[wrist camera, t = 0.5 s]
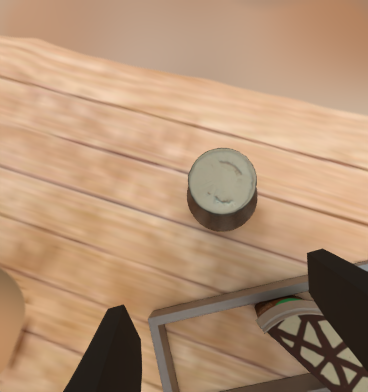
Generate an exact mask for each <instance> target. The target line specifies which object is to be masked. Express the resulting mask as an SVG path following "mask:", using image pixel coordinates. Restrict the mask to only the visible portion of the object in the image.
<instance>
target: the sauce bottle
mask: <svg viewBox="0 0 368 392" xmlns="http://www.w3.org/2000/svg"><path fill="white" fill-rule="evenodd" d="M256 184H257V176H256V173H255V169H254V167H253V165H252V163H251V162H250V161H249V159H248V158H247V157H246V156H244V155H243V154H241V153H240V152H238V151H236V150H233V149H229V148H217V149H213V150H209V151H207V152H205V153H204V154H202V155H201V156H200V157H199V158H198V159H197V160H196V161H195V163H194V164H193V166H192V168H191V170H190V172H189V175H188V190H187V202H188V206H189V209H190V211H191V213H192V214H193V216H194V217H195V219H196V220H197V221H198V222H199V223H200V224H202V225H203V226H204V227H206V228H208V229H211V230H213V231H219V232H224V231H231V230H234V229H236V228H238V227H240V226H242V225H243V224H244V223H245V222H246V221H247V220H248V219H249V218H250V217H251V216H252V214H253V213H254V211H255V208H256V204H257V188H256Z"/></svg>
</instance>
